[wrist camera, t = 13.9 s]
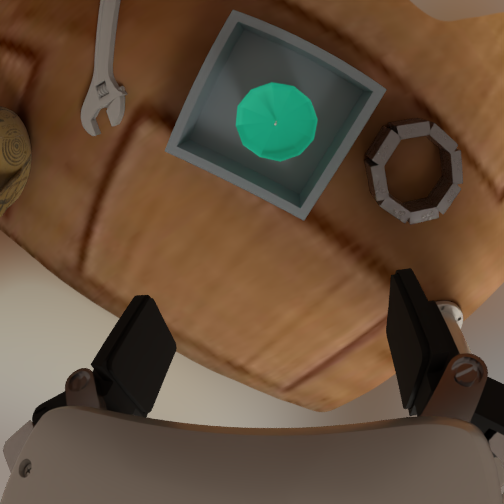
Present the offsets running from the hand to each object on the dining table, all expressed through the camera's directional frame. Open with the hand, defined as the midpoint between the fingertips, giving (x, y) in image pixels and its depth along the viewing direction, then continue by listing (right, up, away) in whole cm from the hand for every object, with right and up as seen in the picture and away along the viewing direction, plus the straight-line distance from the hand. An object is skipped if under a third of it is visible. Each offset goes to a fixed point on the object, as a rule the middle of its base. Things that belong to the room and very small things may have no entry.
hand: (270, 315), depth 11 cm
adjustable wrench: (-18, +28, +15) cm, 37 cm away
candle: (+2, +17, +18) cm, 25 cm away
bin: (+2, +18, +18) cm, 26 cm away
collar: (+18, +12, +19) cm, 29 cm away
